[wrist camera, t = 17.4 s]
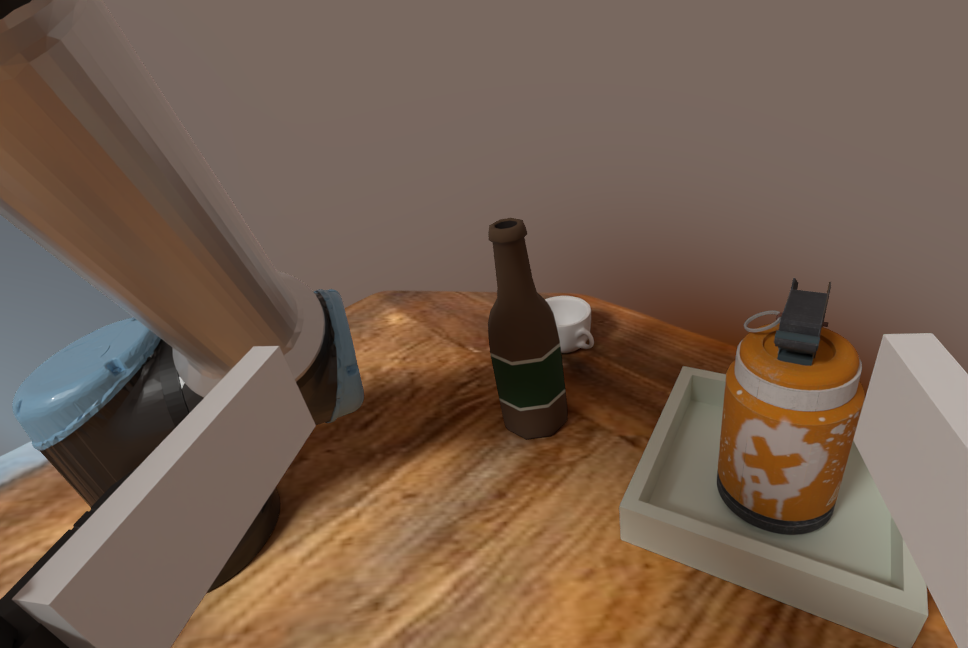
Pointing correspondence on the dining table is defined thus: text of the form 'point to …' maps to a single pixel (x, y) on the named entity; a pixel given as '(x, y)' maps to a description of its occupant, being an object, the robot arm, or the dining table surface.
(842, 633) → the dining table surface
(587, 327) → the teacup
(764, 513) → the canister
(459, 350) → the dining table surface
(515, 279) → the beer bottle
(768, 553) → the tray
